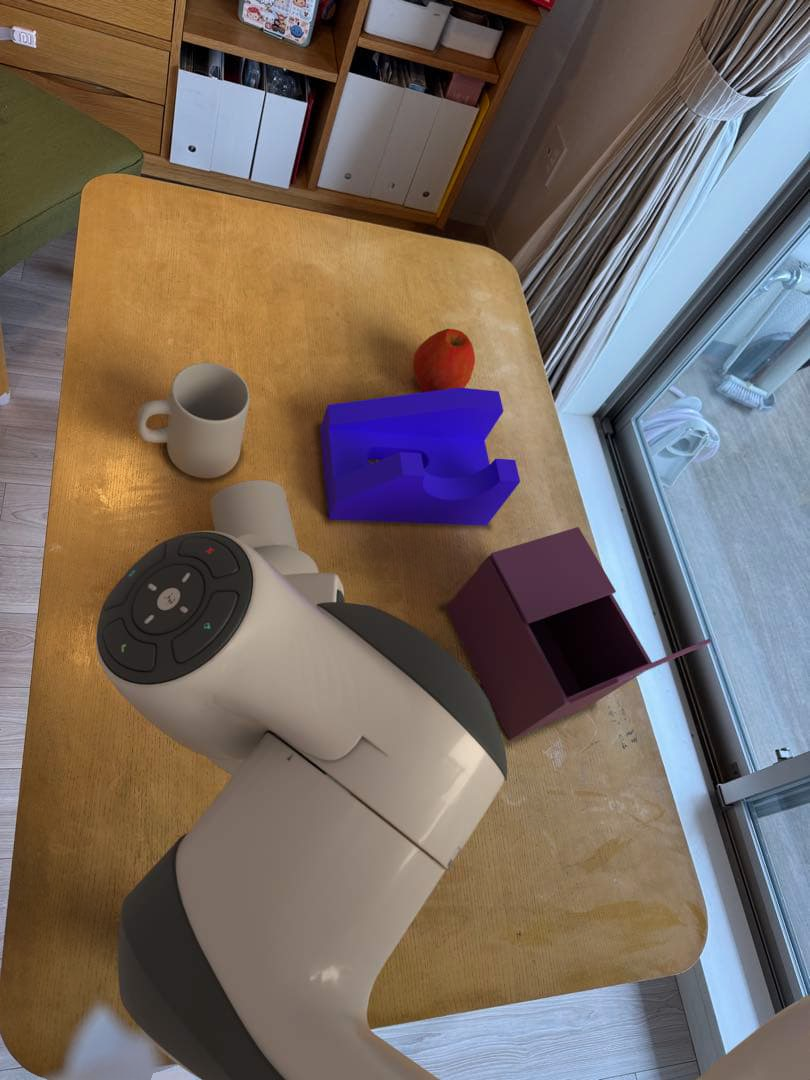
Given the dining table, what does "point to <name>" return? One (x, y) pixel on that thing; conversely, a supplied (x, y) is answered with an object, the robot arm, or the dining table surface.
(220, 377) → the mug
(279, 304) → the dining table surface
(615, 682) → the flap
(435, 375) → the apple
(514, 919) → the dining table surface
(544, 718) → the carton
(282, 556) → the elbow connector
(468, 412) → the bracket
